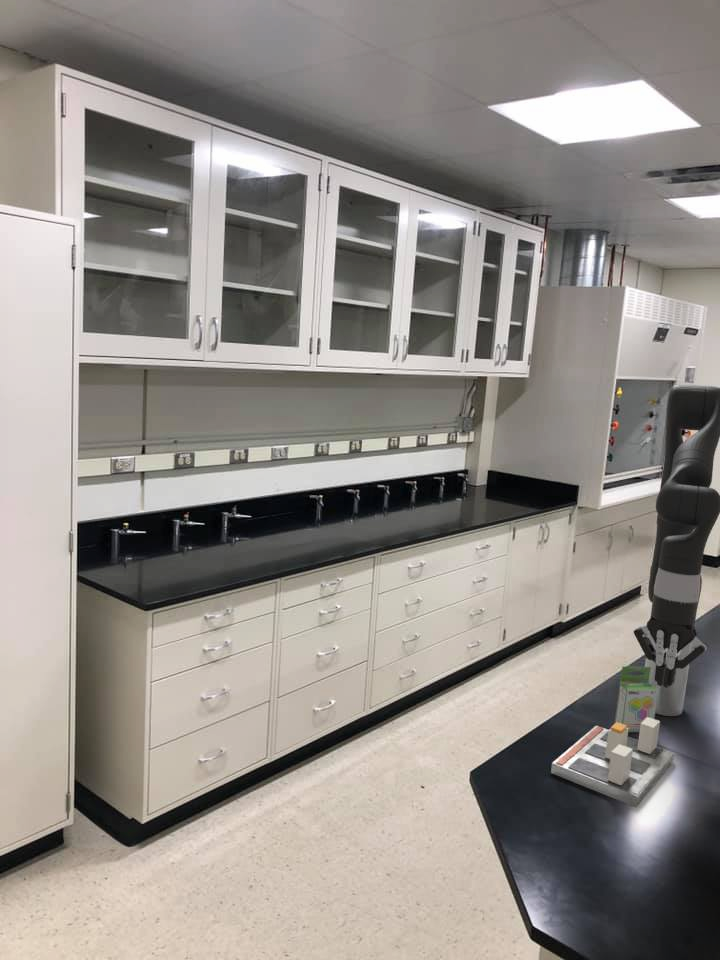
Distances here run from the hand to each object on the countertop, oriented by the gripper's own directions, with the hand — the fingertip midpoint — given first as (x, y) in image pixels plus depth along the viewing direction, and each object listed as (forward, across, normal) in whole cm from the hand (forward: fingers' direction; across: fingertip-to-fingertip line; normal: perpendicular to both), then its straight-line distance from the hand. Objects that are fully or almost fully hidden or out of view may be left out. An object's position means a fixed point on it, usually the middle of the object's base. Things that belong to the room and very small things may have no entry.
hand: (663, 685), depth 141 cm
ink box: (+19, +10, -20) cm, 29 cm away
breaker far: (+17, +4, -8) cm, 19 cm away
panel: (+19, +7, 0) cm, 20 cm away
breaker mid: (+17, +7, 0) cm, 18 cm away
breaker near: (+17, +4, +8) cm, 19 cm away
